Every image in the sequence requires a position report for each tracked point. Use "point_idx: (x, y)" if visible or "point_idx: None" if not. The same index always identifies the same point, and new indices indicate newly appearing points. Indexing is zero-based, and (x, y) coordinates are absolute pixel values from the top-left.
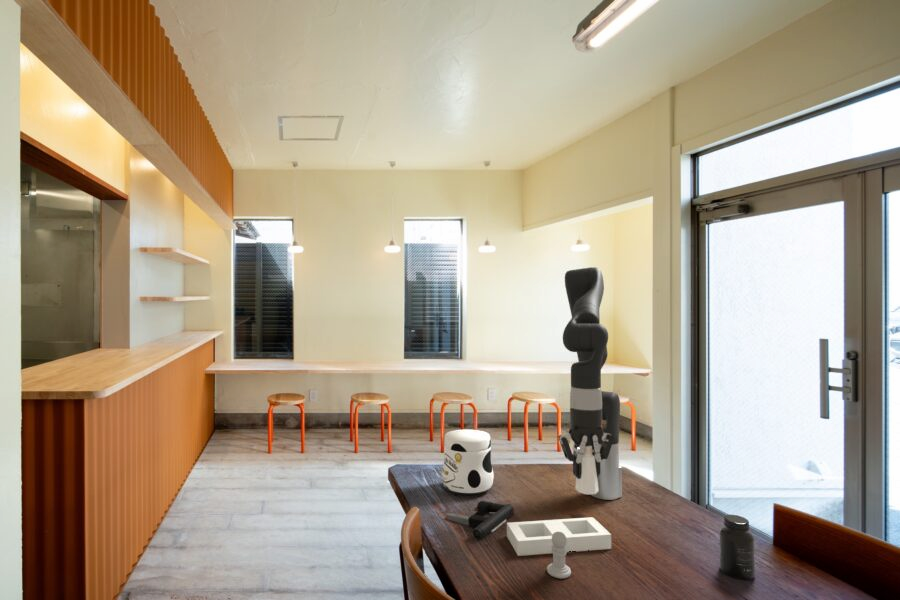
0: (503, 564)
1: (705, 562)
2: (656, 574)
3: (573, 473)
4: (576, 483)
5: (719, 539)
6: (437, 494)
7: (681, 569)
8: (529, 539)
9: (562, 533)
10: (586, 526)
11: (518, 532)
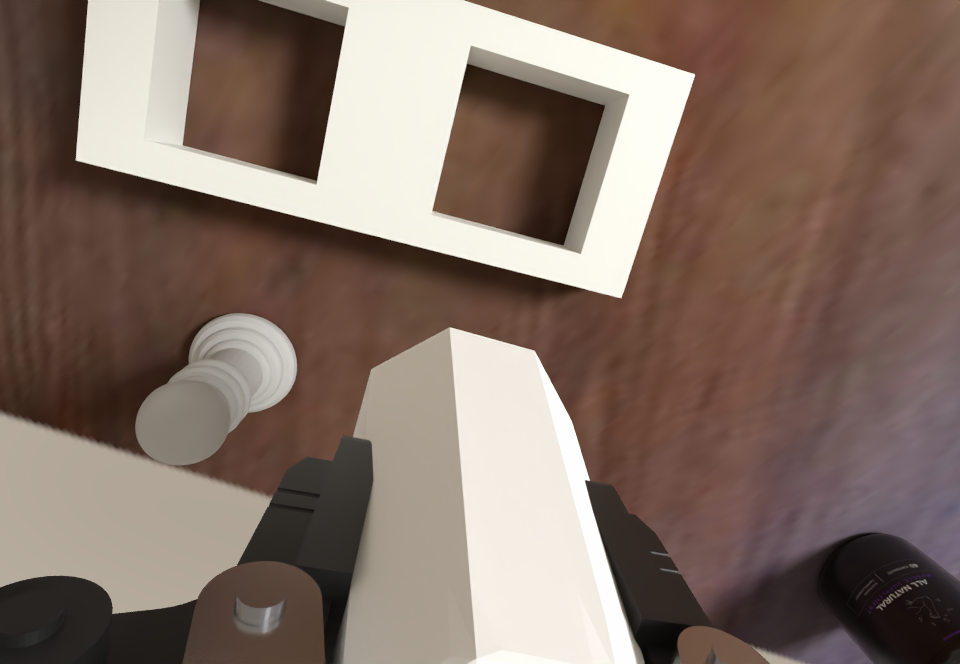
0: (16, 205)
1: (839, 497)
2: None
3: (296, 468)
4: (363, 413)
5: (927, 626)
6: None
7: (717, 502)
8: (153, 169)
9: (185, 449)
10: (616, 99)
11: (122, 59)
